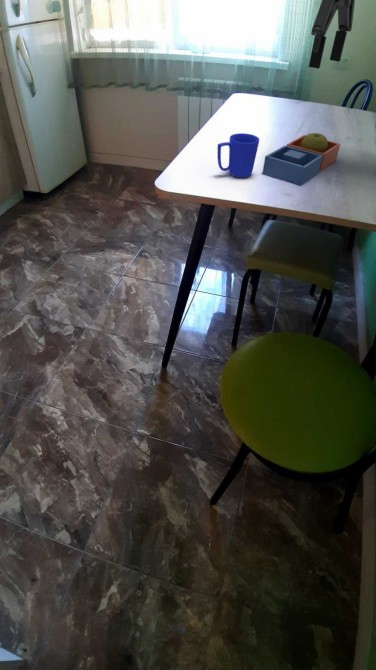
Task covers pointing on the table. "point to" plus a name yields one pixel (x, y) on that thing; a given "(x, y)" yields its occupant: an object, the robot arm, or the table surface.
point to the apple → (315, 142)
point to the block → (294, 157)
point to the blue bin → (291, 166)
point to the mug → (240, 154)
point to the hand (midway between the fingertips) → (324, 64)
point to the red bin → (327, 157)
